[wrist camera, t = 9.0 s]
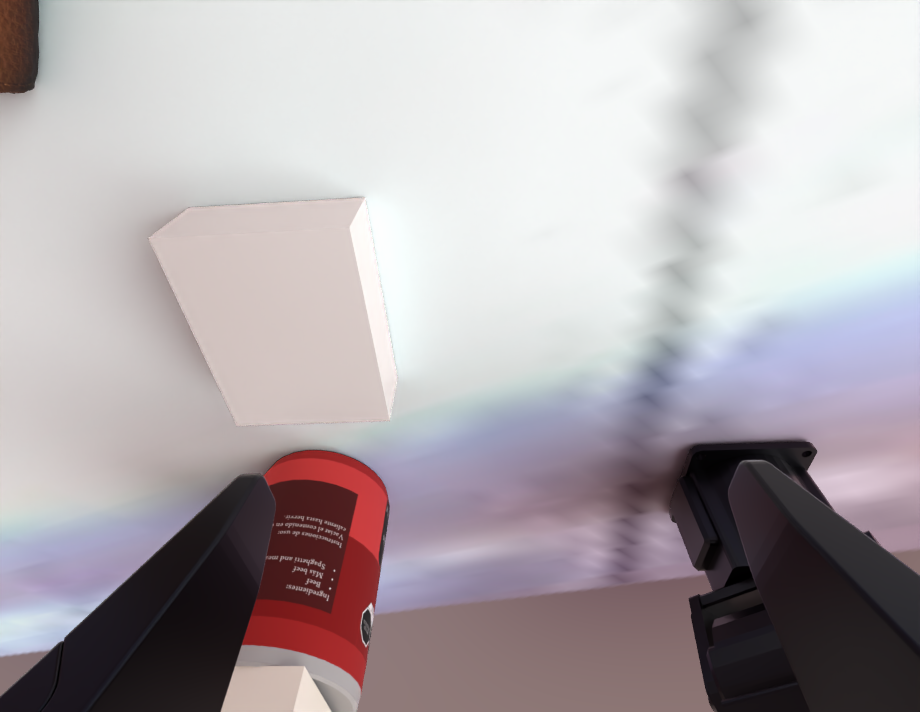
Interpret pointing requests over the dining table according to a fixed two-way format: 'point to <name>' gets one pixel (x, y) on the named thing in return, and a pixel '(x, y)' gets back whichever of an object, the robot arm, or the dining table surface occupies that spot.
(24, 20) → the sunglasses case
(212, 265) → the pale pink chamfered block
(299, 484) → the canned food
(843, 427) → the dining table surface
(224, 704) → the cream box
